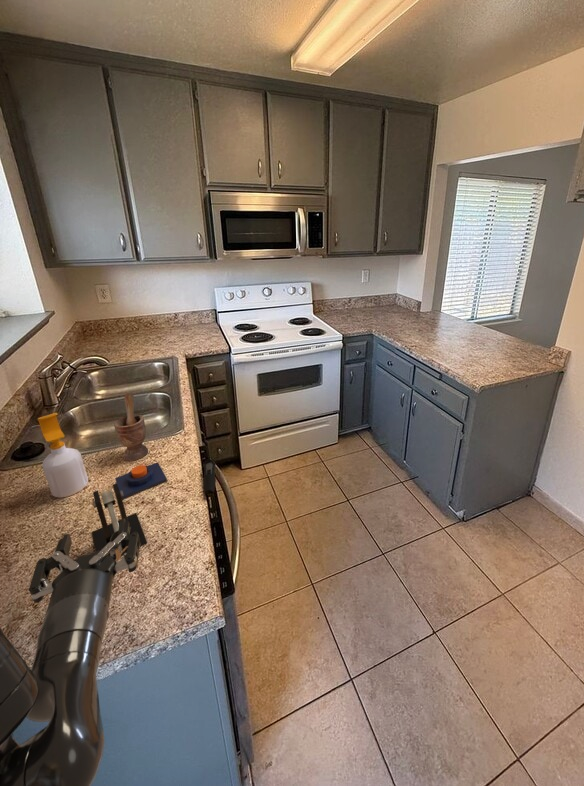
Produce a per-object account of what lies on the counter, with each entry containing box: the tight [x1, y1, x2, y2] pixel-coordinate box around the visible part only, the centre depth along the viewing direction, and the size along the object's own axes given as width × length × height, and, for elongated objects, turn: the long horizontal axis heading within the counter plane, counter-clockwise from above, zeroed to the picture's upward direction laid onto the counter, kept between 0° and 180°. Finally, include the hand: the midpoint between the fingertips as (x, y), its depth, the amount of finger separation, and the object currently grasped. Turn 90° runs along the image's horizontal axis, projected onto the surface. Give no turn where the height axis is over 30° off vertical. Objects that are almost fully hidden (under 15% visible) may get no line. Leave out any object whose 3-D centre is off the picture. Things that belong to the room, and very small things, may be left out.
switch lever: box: [100, 489, 121, 547], centre depth 80 cm, size 13×4×4 cm, turn 38°
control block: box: [114, 462, 168, 501], centre depth 105 cm, size 12×10×4 cm
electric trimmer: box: [202, 458, 217, 495], centre depth 107 cm, size 4×16×3 cm, turn 16°
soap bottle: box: [37, 412, 89, 498], centre depth 101 cm, size 9×9×25 cm
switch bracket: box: [91, 482, 148, 557], centre depth 84 cm, size 12×10×15 cm
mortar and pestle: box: [113, 392, 149, 462], centre depth 118 cm, size 12×9×20 cm
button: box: [130, 464, 147, 479], centre depth 105 cm, size 4×4×2 cm
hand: (96, 530), depth 63 cm, fingers open, 8 cm apart
